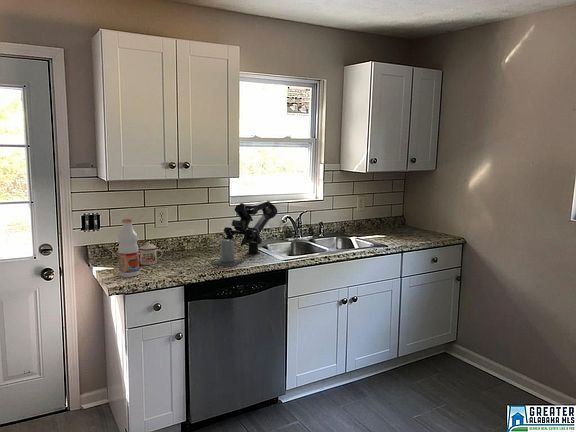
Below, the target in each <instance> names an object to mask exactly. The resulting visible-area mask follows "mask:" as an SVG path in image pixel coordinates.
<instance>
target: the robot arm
mask: <svg viewBox="0 0 576 432" xmlns="http://www.w3.org/2000/svg"><path fill="white" fill-rule="evenodd" d="M258 211H262V215H261V217H260V218H259V219H258V221H257V222H256V223H255V225H254V226H253V227H249V226H250V223H251V222H253V221H254V220H253V216H255V215H256V214H258V213H259V212H258ZM234 212H235V213H236V214H237V216H238V217H239V218H240V220H238V219H237V220H236V219H235V220H234V219H232V222H231V226H232V227H233V228H234V229H235V230H234V229H233V228H232V227H227V226H226V227H225V226H224V229H223V232H224V233H225V236H226V239H232V240H233V238H234V235H239V236H240V235H242V236H243V237H242V240H241V243H240V247H243V246H244V245H246V244H248V251H247V252H246V254H247V255H258V254H260V253H261V251H259V245H261V244H262V243H263V242H262V241H263V239H262V238H261V234H260V233H261V232H262V230H263V229H264V227H265V226H266V225H267V223H269V222H270V220H271V219H274V218H275V217H276V216H277V214H278V209H277V207H276V206H275V204H273V203H272V202H271V201H269V200H261V201H259V202H256V203H254V204H253V203H252V204H244V203H242V202H240V204H238V205H236V206H235V207H234Z"/></svg>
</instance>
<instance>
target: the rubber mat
mask: <svg viewBox="0 0 576 432" xmlns="http://www.w3.org/2000/svg"><path fill="white" fill-rule="evenodd" d="M242 263H244V260H243V259H242V260H241V259H236V258H234V262H233V263H222V262H221V258H220V259H218V260H215V261H212V262H210V264H211V266H218V265H219V267H227V268H233V267H236V266H238V265H240V264H242Z"/></svg>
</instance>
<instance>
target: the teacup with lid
mask: <svg viewBox="0 0 576 432" xmlns="http://www.w3.org/2000/svg"><path fill="white" fill-rule="evenodd" d="M157 252H160V255H159V256H157ZM162 256H163V251H162V250H161V249H158V247H157V246H156V245H154V244H152V243H151V242H146V243H145V244H143V245H142V246H140V247H139V258H140V259H139V261H140V262H139V264H140V265H142V266H151V265H156V264H157V263H158V259H161V258H162Z"/></svg>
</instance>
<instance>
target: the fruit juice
mask: <svg viewBox="0 0 576 432" xmlns="http://www.w3.org/2000/svg"><path fill="white" fill-rule="evenodd" d="M133 222H134V221H133V219H131V218H125V219H124V218H123V219H122V220H121V224H122V227H121V231H120V232H119V234H118V236H117V237H118V238H117V239H118V244H119V245H118V249H117V250H118V251H117V252H118V268H119V277H121V278H134V277H133V276H135V277H137V275H138V276H139V275H140V262H139V261H140V259H139V258H140V249H139V245H138V234H137V232H136V231H135V229H134V227H133Z"/></svg>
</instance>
